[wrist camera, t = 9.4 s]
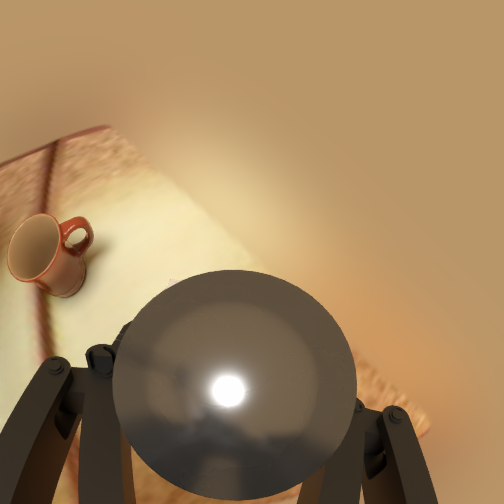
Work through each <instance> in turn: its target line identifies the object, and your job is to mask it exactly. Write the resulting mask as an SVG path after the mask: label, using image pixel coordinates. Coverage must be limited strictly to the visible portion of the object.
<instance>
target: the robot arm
mask: <svg viewBox="0 0 504 504" xmlns="http://www.w3.org/2000/svg"><path fill="white" fill-rule="evenodd" d="M178 282H180V281H178V280H173V279H171V280H170V281H169V283H168V285H167V286H166V288H165V289H167V288H169V287H171V286H172V285H174V284H176V283H178ZM131 322H132V321H130V322H129V323H127V324H126V325H124V326H123V328H122V329H121V331H120V333H119V334H118V336H117V337H116V340H115V341H114V342H113V344H112V345H107V344H97V345H94V346H92V347H90V348H89V349H88V350H87V352H86V354H85V356H86V360H87V364H88V368H78V367H71V366H70V363H69V362H68V361H67V360H66V359H65V358H63V357H58V356H55V357H50V358H48V359H46V360H45V361H44V362H43V363H42V364H41V366H40V367H39V369H38V370H37V372H36V374H35V375H34V377H33V378H32V380H31V381H30V383H29V385H28V386H27V388H26V389H25V391H24V393H23V394H22V396H21V398H20V399H19V401H18V403H17V404H16V406H15V408H14V410H13V411H12V413H11V415H10V417H9V418H8V420H7V422H6V424H5V426H4V428H3V430H2V432H1V433H0V504H52V500H53V497H54V493H55V490H56V487H57V484H58V481H59V478H60V475H61V472H62V469H63V466H64V463H65V460H66V457H67V454H68V452H69V449H70V446H71V444H72V441H73V438H74V436H75V433H76V431H77V428H78V426H79V423H80V421H81V418H82V424H81V435H80V448H79V475H78V490H79V504H136V499H135V491H134V482H133V472H132V460H131V444H130V443H129V441H128V439H127V438H126V436H125V434H124V432H123V430H122V428H121V425H120V422H119V419H118V416H117V413H116V409H115V404H114V399H113V384H112V379H113V369H114V363H115V359H116V355H117V351H118V348H119V346H120V343H121V341H122V338H123V336H124V334H125V332H126V331H127V329H128V327H129V325H130V324H131ZM361 483H362V489H363V495H364V502H365V504H438V501H437V498H436V494H435V491H434V488H433V484H432V481H431V478H430V474H429V471H428V468H427V466H426V462H425V459H424V456H423V453H422V450H421V448H420V445H419V442H418V439H417V437H416V434H415V431H414V429H413V426H412V423H411V421H410V418H409V416H408V414H407V412H406V411H405V410H404V409H402V408H400V407H398V406H393V405H392V406H387V407H386V408H385V409H384V410H383V411H382V412H380V411H375V410H371V409H367V408H365V406H364V404H363V403H362V401H361V400H359V399H358V398H356V403H355V408H354V413H353V417H352V420H351V423H350V426H349V428H348V430H347V432H346V435H345V437H344V439H343V441H342V442H341V444H340V445H339V447H338V448H337V450H336V451H335V453H334V454H333V455H332V456H331V457H330V459H329V460H328V461H327V462H326V463H325V464H324V465H323V466H322V467H321V468H320V469H319V470H318V471H317V472H315V473H314V474H313V475H312V476H310V477H309V478H307V479H306V480H304V481H303V483H302V486H301V490H300V494H299V497H298V501H297V504H359V500H360V491H361Z"/></svg>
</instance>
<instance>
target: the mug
mask: <svg viewBox="0 0 504 504" xmlns="http://www.w3.org/2000/svg"><path fill="white" fill-rule="evenodd" d="M78 228H84V229H85V231H86V236H85V238H84V239H83V240H82V241H81V242H79V243H77V244H74V245H72V244H70V243H69V242H68V241H67V238H68V237H69V235H70V234H71V233H72V232H73V231H74V230H76V229H78ZM93 238H94V234H93V230H92V227H91V225H90V223H89V222H88V220H87V219H85V218H84V217H74V218H72V219H70V220H68V221H66V222H63V223H61V224H58V222H57V220H56V219H55V218H54V217H53V216H51V215H49V214H44V213H41V214H36V215H33V216H31V217H29V218H27V219H26V220H25V221H24V222H22V223H21V224H20V225H19V227H18V228H17V229H16V231H15V232H14V234H13V236H12V238H11V240H10V243H9V247H8V252H7V262H8V267H9V270H10V272H11V274H12V275H13V276H14V277H15V278H16V279H17V280H19V281H21V282H27V283H35V284H36V285H37V286H39V287H40V288H42V289H43V290H45V291H46V292H48V293H49V294H51V295H53V296H56V297H68V296H71V295H73V294H74V293H75V292H77V290H78V289H79V288H80V287H81V285H82V283H83V281H84V277H85V264H84V262H83V259H82V256H83V255H84V254H85V253H86V251H87V250H88V249H89V247H90V246H91V244H92V242H93Z"/></svg>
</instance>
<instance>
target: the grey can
mask: <svg viewBox="0 0 504 504" xmlns="http://www.w3.org/2000/svg"><path fill="white" fill-rule="evenodd" d="M112 384H113V399H114V404H115V409H116V413H117V416H118V419H119V422H120V425H121V428H122V430H123V432H124V434H125V436H126V438H127V439H128V441H129V443H130V444H131V446H132V447H133V449H134V450H135V451H136V453H137V454H138V455H139V456H140V458H141V459H142V460H143V461H144V462H145V463H146V464H147V465H148V466H149V467H150V468H151V469H152V470H154V471H155V472H156V473H157V474H159V475H160V476H161V477H163V478H164V479H166V480H167V481H169V482H170V483H172V484H174V485H175V486H178V487H180V488H182V489H184V490H186V491H189V492H191V493H194V494H197V495H201V496H204V497H208V498H214V499H220V500H236V501H240V500H252V499H258V498H263V497H268V496H272V495H275V494H278V493H280V492H283V491H286V490H288V489H290V488H292V487H294V486H296V485H298V484H300V483H301V482H303V481H304V480H306V479H307V478H309V477H310V476H312V475H313V474H314V473H315V472H317V471H318V470H319V469H320V468H321V467H322V466H323V465H324V464H325V463H326V462H327V461H328V460H329V459H330V457H331V456H332V455H333V454H334V453H335V451H336V450H337V448H338V447H339V445H340V444H341V442H342V441H343V439H344V437H345V435H346V432H347V430H348V428H349V426H350V423H351V420H352V417H353V413H354V408H355V403H356V394H357V379H356V369H355V364H354V360H353V355H352V353H351V350H350V347H349V344H348V342H347V340H346V338H345V336H344V334H343V332H342V330H341V328H340V327H339V326H338V324H337V323H336V321H335V320H334V319H333V317H332V316H331V315H330V314H329V312H327V310H326V309H325V308H324V307H323V306H322V305H321V304H320V303H319V302H317V301H316V300H315V299H314V298H313V297H312V296H310V295H309V294H308V293H306V292H305V291H303V290H301V289H300V288H299V287H297V286H295V285H293V284H291V283H289V282H286V281H285V280H282V279H279V278H277V277H274V276H271V275H267V274H263V273H259V272H253V271H244V270H222V271H214V272H208V273H204V274H200V275H196V276H193V277H190V278H188V279H185V280H183V281H180V282H178V283H176V284H174V285H172V286H171V287H169V288H167V289H165V290H164V291H162V292H161V293H160V294H158V295H157V296H156V297H154V298H153V299H152V300H151V301H150V302H149V303H148V304H147V305H146V306H145V307H144V308H142V309H141V311H140V312H139V313H138V314H137V316H136V317H135V318H134V319H133V321H132V322H131V324H130V325H129V327H128V329H127V331H126V332H125V334H124V336H123V338H122V341H121V343H120V346H119V348H118V351H117V355H116V359H115V363H114V369H113V379H112Z"/></svg>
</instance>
